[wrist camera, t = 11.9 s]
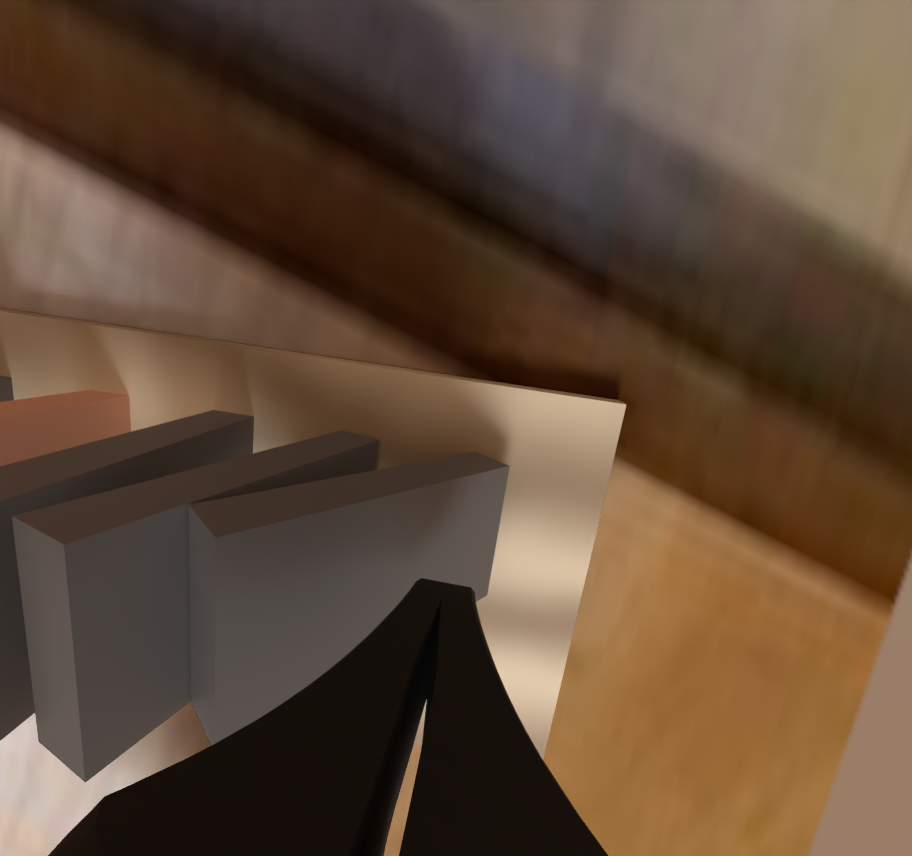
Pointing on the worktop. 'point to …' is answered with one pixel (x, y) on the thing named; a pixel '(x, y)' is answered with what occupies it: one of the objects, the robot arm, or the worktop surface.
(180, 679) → the domino
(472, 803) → the robot arm
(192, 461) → the domino
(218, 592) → the domino
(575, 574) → the birch board
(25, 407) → the domino
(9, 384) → the end domino
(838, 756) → the worktop surface
